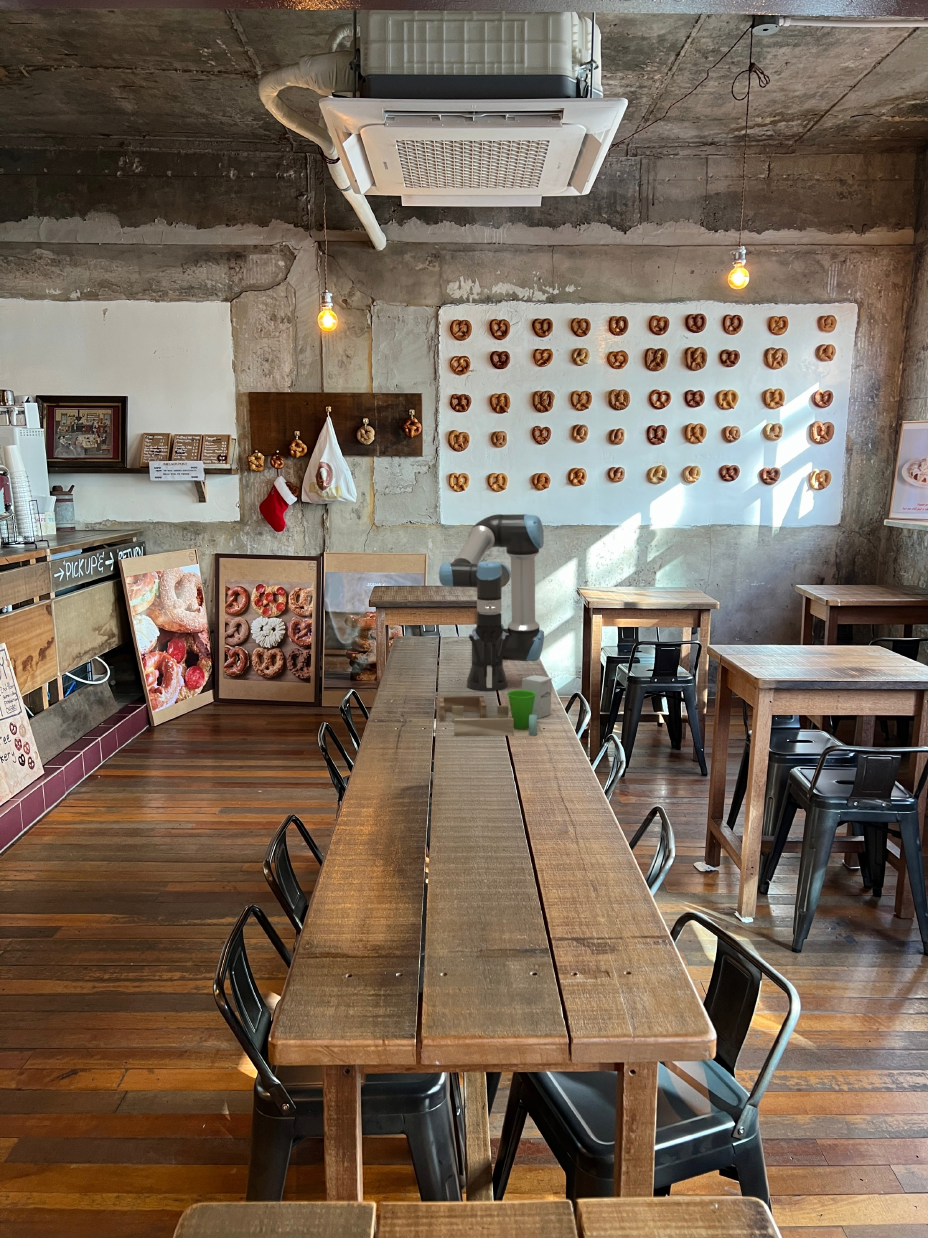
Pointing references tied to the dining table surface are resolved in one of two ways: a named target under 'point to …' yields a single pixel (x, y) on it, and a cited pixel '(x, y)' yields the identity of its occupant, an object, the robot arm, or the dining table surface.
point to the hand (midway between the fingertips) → (489, 686)
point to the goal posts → (532, 725)
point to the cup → (521, 707)
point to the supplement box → (539, 694)
